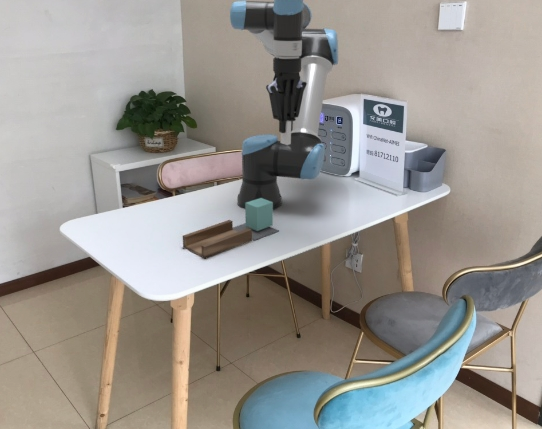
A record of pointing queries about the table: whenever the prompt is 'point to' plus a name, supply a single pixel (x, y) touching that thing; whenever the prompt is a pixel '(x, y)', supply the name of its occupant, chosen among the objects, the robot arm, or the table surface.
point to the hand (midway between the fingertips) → (285, 143)
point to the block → (259, 214)
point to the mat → (256, 234)
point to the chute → (215, 239)
